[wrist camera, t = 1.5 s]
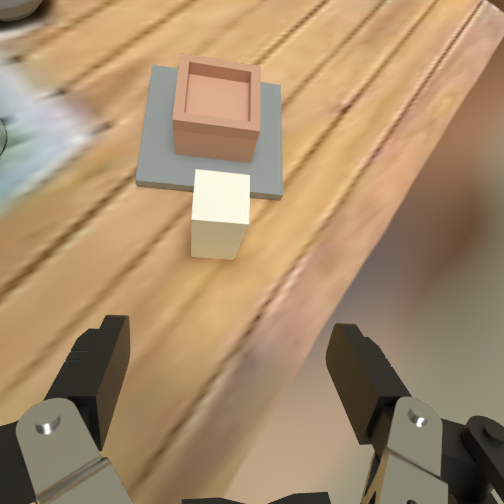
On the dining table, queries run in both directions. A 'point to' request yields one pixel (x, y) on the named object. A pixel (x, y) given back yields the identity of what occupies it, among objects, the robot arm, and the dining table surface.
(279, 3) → the dining table surface
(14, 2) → the coffee pot
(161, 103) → the tower base
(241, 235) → the tall brick
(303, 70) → the dining table surface
